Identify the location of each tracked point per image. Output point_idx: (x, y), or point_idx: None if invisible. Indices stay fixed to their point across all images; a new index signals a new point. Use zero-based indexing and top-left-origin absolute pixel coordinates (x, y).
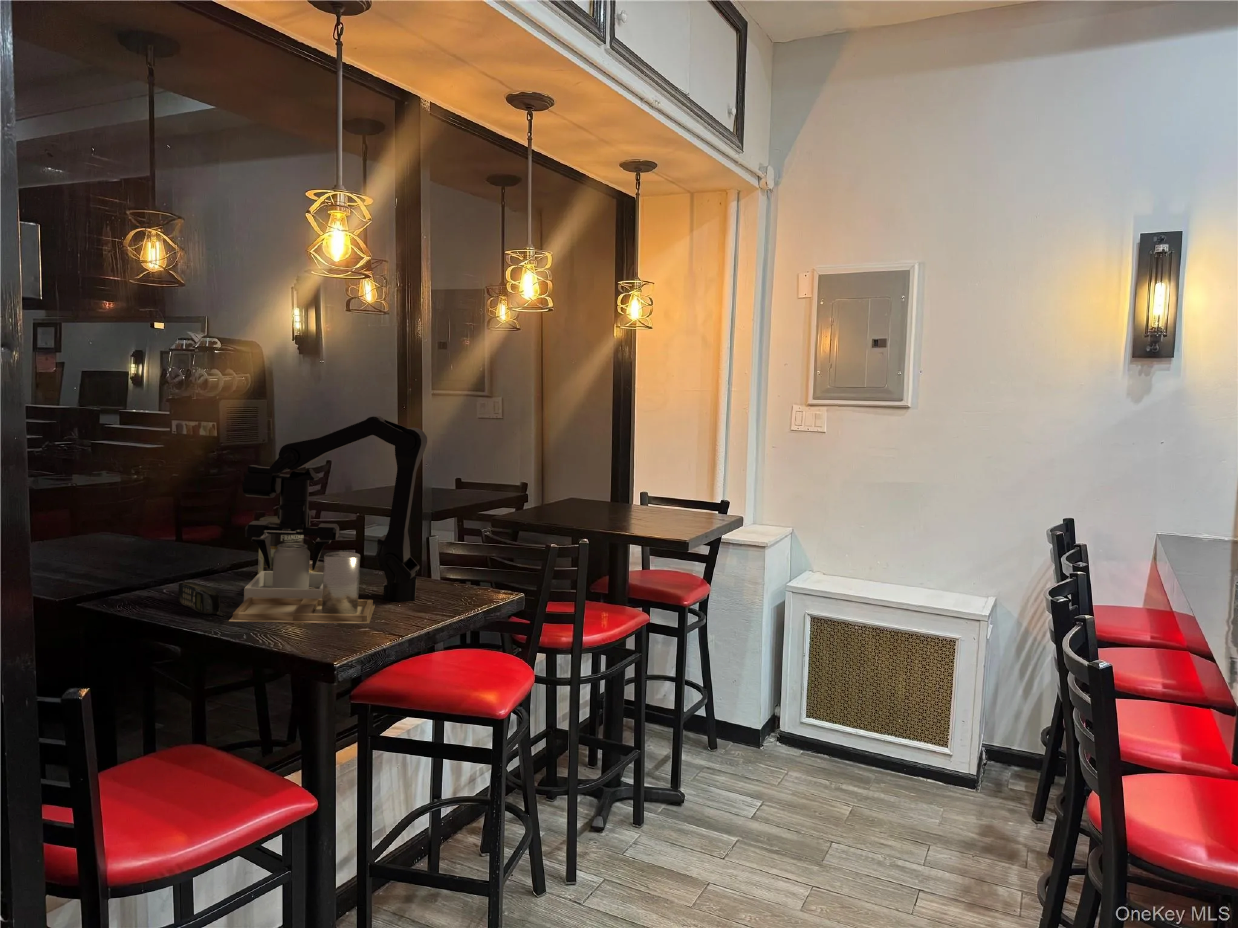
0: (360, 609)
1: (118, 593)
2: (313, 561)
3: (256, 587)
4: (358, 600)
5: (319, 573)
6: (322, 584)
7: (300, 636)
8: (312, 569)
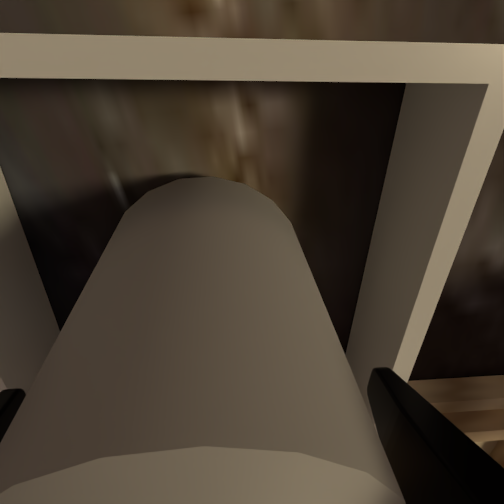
0: (480, 442)
1: None
2: (402, 485)
3: (8, 302)
4: (499, 437)
5: (405, 80)
6: (394, 371)
7: None
8: (368, 393)
